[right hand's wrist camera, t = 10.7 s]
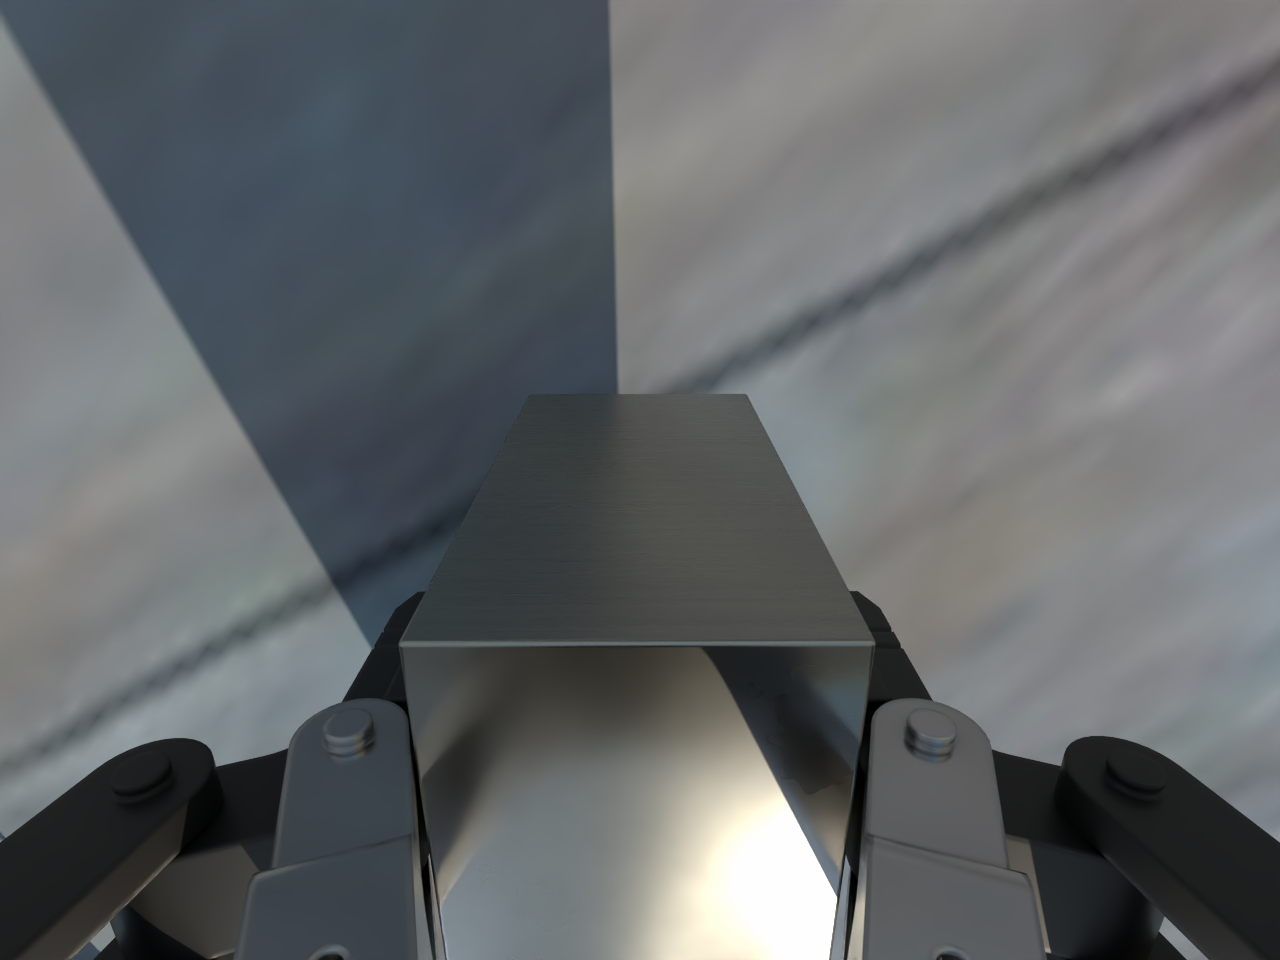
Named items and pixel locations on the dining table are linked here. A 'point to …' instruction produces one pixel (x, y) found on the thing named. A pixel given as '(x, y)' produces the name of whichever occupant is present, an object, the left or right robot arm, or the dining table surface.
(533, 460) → the bar
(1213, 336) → the dining table surface
